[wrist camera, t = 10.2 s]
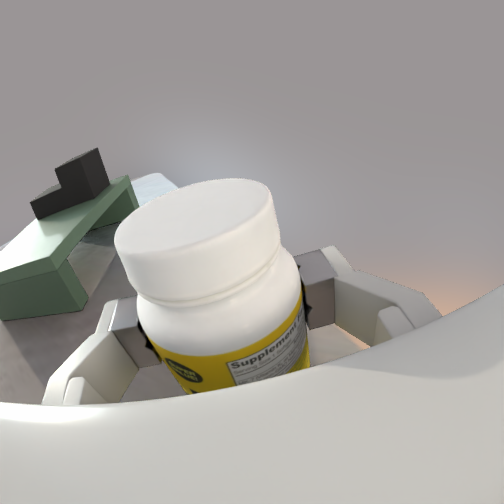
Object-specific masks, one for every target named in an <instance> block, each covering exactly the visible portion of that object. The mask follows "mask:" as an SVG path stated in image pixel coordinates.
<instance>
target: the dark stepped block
mask: <svg viewBox="0 0 504 504" xmlns="http://www.w3.org/2000/svg"><path fill="white" fill-rule="evenodd" d="M55 172H56V175H57V178H58V180H59V184H57V185H55V186H53V187H51V188H48V189H47V190H46V191H44V192H43V193H42V194H40V195H39V196H37V197H36V198H35V199H34V200H32V201H31V202H30V204H31V206H32V209H33V211H34V213H35V216H36V218H37V220H40V219H42V218H45V217H47V216H50V215H52V214H55V213H57V212H60V211H62V210H65V209H68V208H70V207H73V206H75V205H78V204H81V203H84V202H86V201H89V200H92V199H95V198H96V197H97V196H98V195H99V194H100V193H101V192H102V191H103V190H104V189H106V188H107V187H108V186H109V185H110V182H109V179H108V176H107V173H106V171H105V168H104V165H103V162H102V159H101V156H100V153H99V151H98V148H95V149H93V150H90V151H88V152H86V153H84V154H81V155H79V156H77V157H74V158H72V159H71V160H69V161H67V162H66V163H64V164H62V165H60V166H59V167H57V168H55Z"/></svg>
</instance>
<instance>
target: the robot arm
mask: <svg viewBox="0 0 504 504" xmlns="http://www.w3.org/2000/svg"><path fill="white" fill-rule="evenodd" d="M293 258H294V260H295V262H296V265H297V267H298V271H299V274H300V279H301V284H302V294H303V302H304V311H305V320H306V323H307V325H308V328H309V330H312V329H315V328H319V327H323V326H326V325H330V324H333V323H335V324H336V325H337V326H339V327H340V328H342V329H344V330H345V331H347V332H348V333H350V334H351V335H353V336H355V337H356V338H358V339H359V340H361V341H363V342H364V343H366V344H367V345H369V346H370V348H367V349H364V350H362V351H359V352H356V353H353V354H350V355H348V356H345V357H342V358H339V359H336V360H332V361H329V362H326V363H323V364H320V365H316V366H313V367H310V368H306V369H303V370H299V371H296V372H292V373H288V374H285V375H281V376H277V377H273V378H269V379H265V380H261V381H257V382H252V383H248V384H243V385H239V386H234V387H229V388H224V389H219V390H214V391H208V392H203V393H197V394H191V395H184V396H177V397H170V398H163V399H154V400H145V401H135V402H124V403H118V402H119V401H120V399H121V398H122V396H123V394H124V393H125V391H126V390H127V388H128V386H129V385H130V383H131V382H132V380H133V378H134V377H135V375H136V374H137V372H138V371H139V368H143V367H148V366H153V365H159V364H161V363H162V358H161V357H160V355H159V354H158V353H157V351H156V350H155V348H154V346H153V345H152V343H151V342H150V340H149V339H148V337H147V335H146V333H145V331H144V330H143V328H142V325H141V323H140V321H139V317H138V313H137V296H138V295H135V296H130V297H125V298H121V299H116V300H112V301H108V302H107V303H105V306H104V309H103V311H102V314H101V317H100V320H99V323H98V326H97V329H96V332H95V334H92V335H90V336H89V337H88V338H87V340H86V341H85V342H84V343H83V344H82V345H81V346H80V347H79V348H78V349H77V350H76V351H75V352H74V353H73V354H72V355H71V356H70V357H69V358H68V359H67V360H66V361H65V362H64V363H63V364H62V365H61V366H60V368H59V369H58V370H57V371H56V372H55V373H54V374H53V375H52V376H51V377H50V379H49V382H48V385H47V388H46V391H45V394H44V398H43V401H42V404H41V405H39V404H19V403H6V402H0V504H504V284H503V285H501V286H499V287H498V288H496V289H494V290H492V291H491V292H489V293H487V294H485V295H484V296H482V297H480V298H478V299H476V300H474V301H473V302H471V303H469V304H467V305H465V306H463V307H461V308H459V309H457V310H455V311H453V312H451V313H449V314H447V315H445V316H442V315H441V314H440V312H439V311H438V310H437V309H436V308H435V307H434V305H433V304H432V303H431V302H430V301H429V299H428V298H427V297H426V296H425V295H424V294H423V293H421V292H419V291H416V290H413V289H410V288H408V287H405V286H402V285H400V284H397V283H394V282H391V281H388V280H386V279H383V278H380V277H377V276H374V275H371V274H368V273H366V272H363V271H360V270H358V271H355V270H354V269H353V268H352V267H351V265H350V264H349V263H348V261H347V260H346V259H345V258H344V256H343V255H342V254H341V252H340V251H339V250H338V249H337V248H336V246H334V245H331V246H328V247H325V248H321V249H319V250H315V251H312V252H308V253H305V254H301V255H297V256H294V257H293Z"/></svg>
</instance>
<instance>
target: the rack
mask: <svg viewBox="0 0 504 504" xmlns="http://www.w3.org/2000/svg"><path fill="white" fill-rule="evenodd" d="M109 182H110V185H109V186H108V187H107V188H106V189H104V190H103V191H102V192H101V193H100V194H99V195H98V196H97V197H96V198H95V199H92V200H89V201H86V202H84V203H81V204H78V205H75V206H73V207H70V208H68V209H65V210H62V211H60V212H57V213H55V214H52V215H50V216H47V217H45V218H42V219H40V220H37V218H36V219H35V220H34V221H33V222H32V223H30V224H29V226H27V227H26V228H25V229H24V230H23V231H22V232H21V233H20V234H19V235H18V236H17V237H16V238H14V239H13V240H12V241H11V242H10V243H9V244H8V245H7V246H6V247H5V248H4V249H3V250H2V251H1V252H0V319H1V321H4V320H13V319H21V318H29V317H37V316H45V315H53V314H60V313H67V312H74V311H81V310H82V309H83V307H84V305H85V303H86V301H87V300H88V295H87V294H86V292H85V290H84V289H83V287H82V285H81V284H80V282H79V280H78V278H77V277H76V275H75V273H74V271H73V269H72V268H71V266H70V264H69V262H68V260H67V259H66V258H67V256H68V255H69V254H70V252H71V251H72V250H73V249H74V247H75V246H76V245H77V244H78V242H79V241H80V240H81V239H82V238H83V236H84V235H85V234H86V233H87V232H88V231H89V230H93V229H96V228H99V227H103V226H106V225H109V224H113V223H116V222H120V221H123V220H124V219H126V218H127V217H128V216H129V215H130V214H131V213H132V212H133V211H135V210H136V209H138V208H139V204H138V201H137V199H136V196H135V193H134V190H133V188H132V185H131V182H130V179H129V176H128V175H125V176H122V177H119V178H116V179H113V180H111V181H109Z"/></svg>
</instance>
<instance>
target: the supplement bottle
mask: <svg viewBox="0 0 504 504" xmlns="http://www.w3.org/2000/svg"><path fill="white" fill-rule="evenodd" d="M114 243H115V247H116V250H117V252H118V254H119V257H120V259H121V261H122V263H123V266H124V268H125V271H126V273H127V277H128V280H129V282H130V283H131V285H132V286H133V287H134V288H135V290H136V291H137V293H138V296H137V313H138V317H139V321H140V323H141V325H142V328H143V330H144V331H145V333H146V335H147V337H148V339H149V340H150V342H151V343H152V345H153V346H154V348H155V350H156V351H157V353H158V354H159V355H160V357H161V358H162V360H163V361H164V362H165V364H166V365H167V367H168V368H169V370H170V371H171V373H172V374H173V376H174V377H175V378H176V380H177V381H178V383H179V384H180V385H181V387H182V388H183V390H184V391H185V392H186V394H187V395H191V394H197V393H203V392H208V391H214V390H219V389H224V388H229V387H234V386H239V385H243V384H248V383H252V382H257V381H261V380H265V379H269V378H273V377H277V376H281V375H285V374H288V373H292V372H296V371H299V370H303V369H306V368H310V360H309V349H308V339H307V329H306V320H305V311H304V302H303V294H302V284H301V279H300V274H299V271H298V267H297V265H296V262H295V260H294V258H293V257H292V256H291V254H290V253H289V252H288V251H287V250H286V249H285V248H284V247H283V246H281V241H280V230H279V226H278V222H277V218H276V213H275V209H274V204H273V199H272V195H271V193H270V191H269V189H268V188H267V187H266V186H265V185H263V184H262V183H260V182H257V181H253V180H249V179H239V178H231V179H230V178H228V179H217V180H211V181H205V182H200V183H196V184H193V185H189V186H186V187H182V188H179V189H176V190H173V191H170V192H168V193H166V194H163V195H161V196H159V197H157V198H155V199H153V200H151V201H149V202H147V203H146V204H144V205H142V206H141V207H139V208H138V209H136V210H135V211H133V212H132V213H131V214H130V215H129V216H128V217H127V218H126V219H124V220H123V222H122V223H121V224H120V225H119V227H118V228H117V230H116V233H115V237H114Z"/></svg>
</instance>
